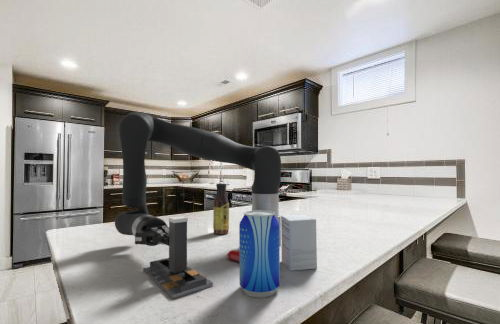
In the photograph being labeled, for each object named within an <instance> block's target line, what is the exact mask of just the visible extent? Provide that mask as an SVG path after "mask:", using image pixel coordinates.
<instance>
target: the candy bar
mask: <svg viewBox="0 0 500 324" xmlns="http://www.w3.org/2000/svg"><path fill="white" fill-rule="evenodd" d="M226 256H227V258H228V259H229V260H231V261H236V262H239V263H240V255H239V250H236V249H235V250H234V249H233V250H229V252H228V253H227V254H226Z"/></svg>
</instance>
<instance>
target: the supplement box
mask: <svg viewBox="0 0 500 324" xmlns="http://www.w3.org/2000/svg"><path fill="white" fill-rule="evenodd" d="M280 217H281V262H282V263H283V264H284V265H285V267H287V269H288V270H289V272H290V271H291V272H293V271H294V272H295V271H304V270H314V269H315V270H316V269H318V259H317V258H318V252H317V250H318V248H317V219H316V218H314V217H311V216H309V215H306V214H294V215H293V214H292V215H291V214H290V215H281V216H280Z"/></svg>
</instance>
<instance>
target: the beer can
mask: <svg viewBox="0 0 500 324" xmlns="http://www.w3.org/2000/svg"><path fill="white" fill-rule="evenodd" d="M238 225H239V226H238V227H239V231H238V232H239V233H238V234H239V239H238V240H239V244H238V245H239V246H238V247H239V248H238V249H239V250H238V251H239V255H240V262H239V286H240V288H241V289H242V291H243V293H244V294H246V295H247V296H249V297H253V298H268V297H271V296H273V295H275V293H276V291H278V288H280V283H281V280H280V279H281V278H280V277H281V275H280V274H281V273H280V272H281V270H280V269H281V268H280V266H281V265H280V264H281V263H280V262H281V261H280V259H281V258H280V257H281V256H280V250H281V249H280V245H279V222H278V221H277V219H276V217H275V213H274V212H272V211H263V210H256V211H252V210H249V211H248V210H247V211H245V212H243V217H242V218H241V219H240V221H239V224H238Z"/></svg>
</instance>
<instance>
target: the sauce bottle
mask: <svg viewBox="0 0 500 324" xmlns="http://www.w3.org/2000/svg"><path fill="white" fill-rule="evenodd" d="M215 186H216V196H215V197H214V200H213V213H212V214H213V221H212V225H213V226H212V228H213V234H215V235H227V234H228V233H229V229H230V201H229V199H228V196H227V183H216V185H215Z"/></svg>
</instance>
